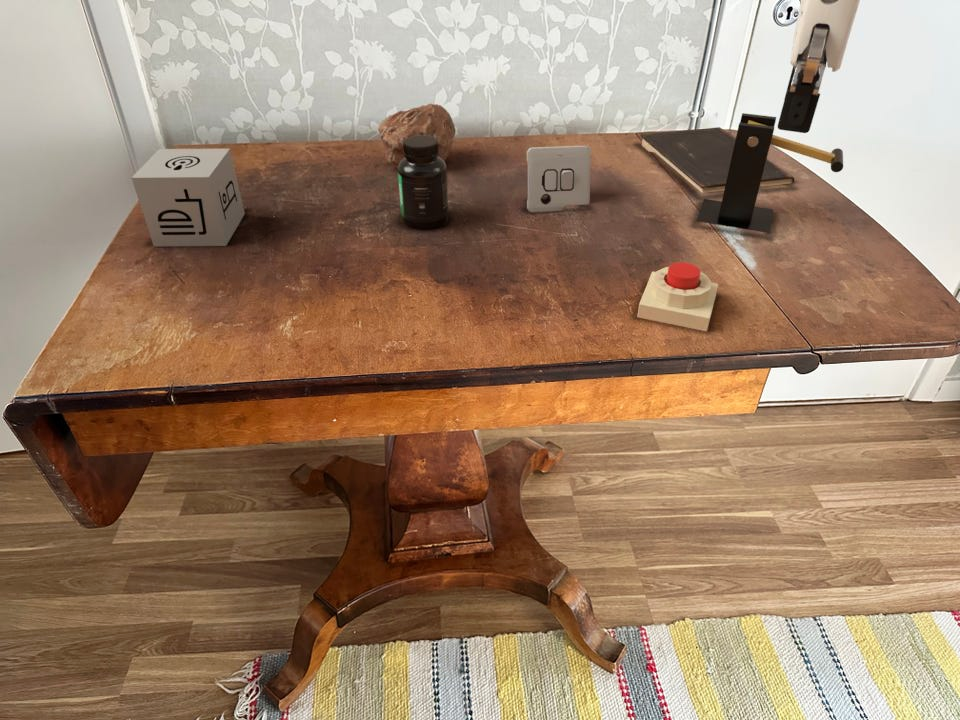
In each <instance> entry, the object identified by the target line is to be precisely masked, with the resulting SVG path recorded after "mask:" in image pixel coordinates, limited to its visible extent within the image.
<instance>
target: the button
mask: <svg viewBox="0 0 960 720" xmlns="http://www.w3.org/2000/svg"><path fill="white" fill-rule="evenodd" d="M668 267H669V268H668V273H667V279H666V283H667V285H669V286H671V287H673V288H676V289H681V290H692V289H695V288H696V287H697V286H698V282H699V277H700V272H701V270H700V268H698V267H697V266H696V265H694V264H692V263H688V262H675V263H672V264H670V265H669V266H668Z"/></svg>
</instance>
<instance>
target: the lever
mask: <svg viewBox="0 0 960 720" xmlns="http://www.w3.org/2000/svg"><path fill="white" fill-rule="evenodd" d="M747 124H756V125H763V124H760V123H757V122H753V121H750V120H749V121H748V123H747ZM764 126H766V125H764ZM770 146H773V147H777V148H780V149H783V150H787V151H790V152H793V153H796V154H799V155H803V156H805V157H809V158H811V159H814V160H818V161H821V162H823V163H824V162H825V163H827V164H830V170H831V171H832V172H833V173H839V172H842V170H843V168H844V152H843V149H842V148H840V147H839V148H838V147H837V148H834V149H832V150H831V152H830V151H827V150H823V149H820V148H817V147H815V146H814V147H813V146H811V145H807V144H804V143H800V142H797V141H795V140H791V139H788V138H785V137H781V136H778V135H775V134H773V136H772V140H771V144H770Z"/></svg>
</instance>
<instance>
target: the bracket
mask: <svg viewBox="0 0 960 720" xmlns="http://www.w3.org/2000/svg"><path fill="white" fill-rule="evenodd" d="M749 120H750V121H753V122H757V123H760V124H763V125H756V124H747V123H748V121H749ZM776 121H777V116H771V115H762V114H753V113H745V112H743V113H741V117H740V122H739V123H738V126H737V132H736V136H735V138H736V140H735V144H734V149H733V153H732V158H731V162H730V167H729V171H728V176H727V180H726V185H725V189H724V191H723V195H722V199H721V201H720V200H715V199H707V198H703V200H702V203H701V205H700V210H699V211H698V215H697V218H696V222H699V223H706V224H710V225H718V226H723V227H730V228H736V229H741V230H749V231H753V232H754V231H755V232H761V233H766V234H770V233H771V230H772V221H773V217H774V209H773V208H768V207H761V206H756V203H757V199H758V195H759V190H760V188H761V187H760V183H761V179H762V175H763V171H764V167H765V163H766V159H767V160H768V155H769V151H770V148H771V145H770V144H771V140H772V136H773V135H774V132H775V125H776ZM764 125H766V126H764Z"/></svg>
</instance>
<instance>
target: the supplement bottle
mask: <svg viewBox="0 0 960 720" xmlns="http://www.w3.org/2000/svg"><path fill="white" fill-rule="evenodd" d="M403 155H404V157H405V158H403V159H402V160H401V161H400V163H399V165H398V169H397V180H398V181H397V182H398V192H399V204H400V215H401V222H402V224H403V225H404V226H405V227H407V228H409V229H412V230H418V231H428V230H436V229H438V228H441V227H443V226H445V225H446V224H447V223H448V221H449V197H448V193H449V192H448V169H447V167H448V166H447V164H446V161H444V160H443V159H442V158H440V157H439V156H438V155H439V145H438V140H437V138H435V137H432V136H427V135H417V136H411V137H408V138H406V139H405V140H404V141H403Z"/></svg>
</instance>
